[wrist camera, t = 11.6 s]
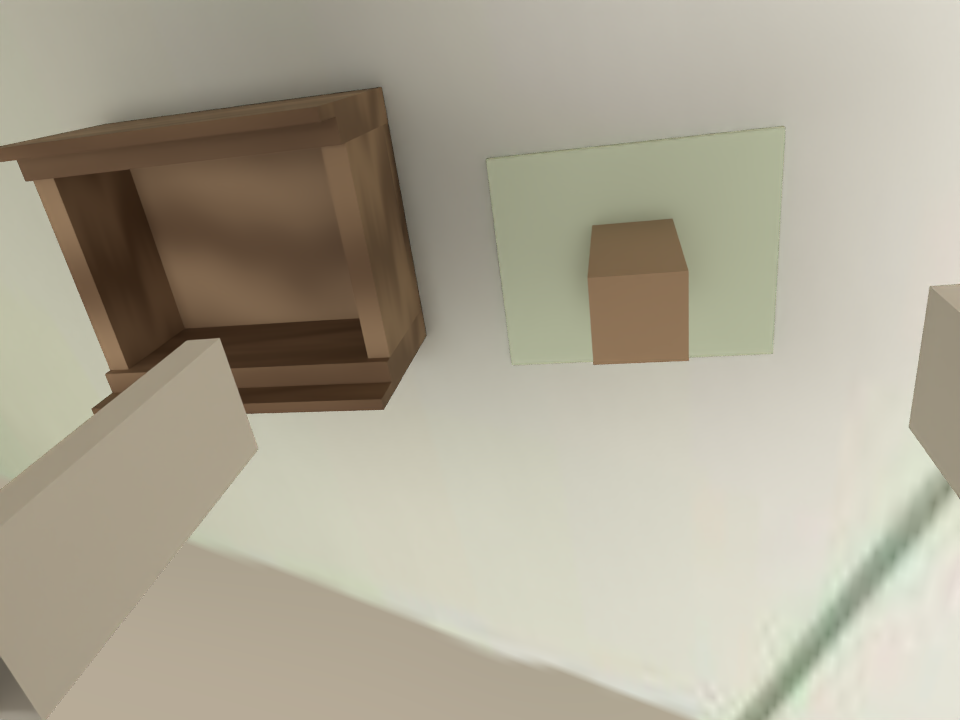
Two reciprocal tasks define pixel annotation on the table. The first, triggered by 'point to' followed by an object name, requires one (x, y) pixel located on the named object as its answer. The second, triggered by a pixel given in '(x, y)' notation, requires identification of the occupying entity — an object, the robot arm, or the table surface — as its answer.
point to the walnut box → (242, 245)
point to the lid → (640, 248)
